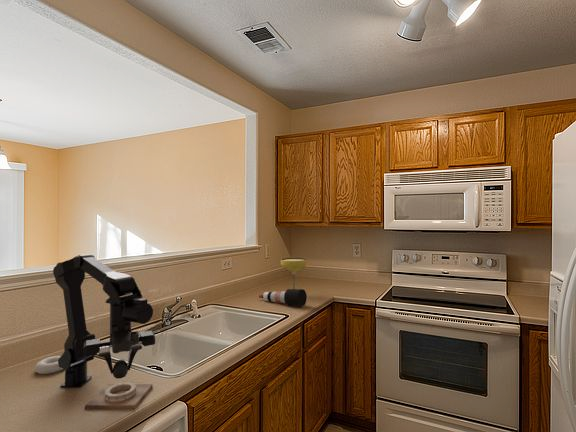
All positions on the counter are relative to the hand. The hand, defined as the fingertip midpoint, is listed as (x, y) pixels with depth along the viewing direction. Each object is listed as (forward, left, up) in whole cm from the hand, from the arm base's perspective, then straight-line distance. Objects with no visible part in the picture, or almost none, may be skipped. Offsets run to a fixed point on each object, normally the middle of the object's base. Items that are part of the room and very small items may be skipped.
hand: (120, 371), depth 99 cm
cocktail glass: (-133, +53, -8) cm, 143 cm away
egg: (0, 0, -2) cm, 2 cm away
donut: (-19, -34, -8) cm, 40 cm away
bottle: (-111, +44, -8) cm, 120 cm away
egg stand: (0, 0, -8) cm, 8 cm away
